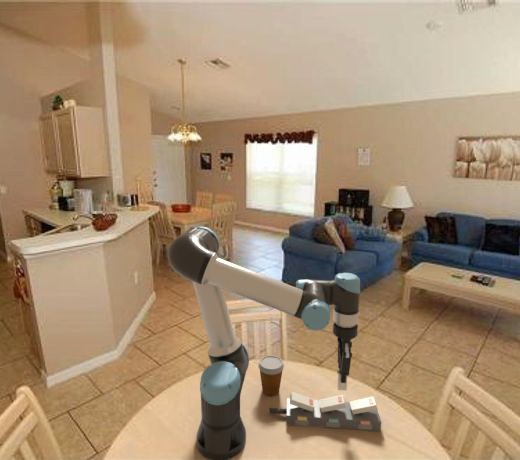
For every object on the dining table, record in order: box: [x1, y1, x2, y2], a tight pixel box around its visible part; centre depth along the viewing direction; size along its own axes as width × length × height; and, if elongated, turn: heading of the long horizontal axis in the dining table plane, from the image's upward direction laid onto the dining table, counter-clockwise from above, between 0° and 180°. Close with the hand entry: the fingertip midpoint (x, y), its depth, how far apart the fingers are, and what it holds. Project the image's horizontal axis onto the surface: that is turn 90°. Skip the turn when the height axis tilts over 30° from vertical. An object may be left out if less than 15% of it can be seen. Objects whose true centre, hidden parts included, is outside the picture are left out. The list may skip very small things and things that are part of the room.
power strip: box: [268, 397, 382, 432], centre depth 114 cm, size 36×8×5 cm, turn 85°
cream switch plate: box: [318, 394, 346, 413], centre depth 113 cm, size 8×4×2 cm, turn 85°
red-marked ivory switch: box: [289, 391, 315, 412], centre depth 114 cm, size 8×4×2 cm, turn 86°
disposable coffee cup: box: [257, 354, 285, 397], centre depth 127 cm, size 10×10×12 cm
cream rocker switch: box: [349, 396, 378, 415], centre depth 113 cm, size 8×4×2 cm, turn 85°
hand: (342, 388), depth 112 cm, fingers closed
